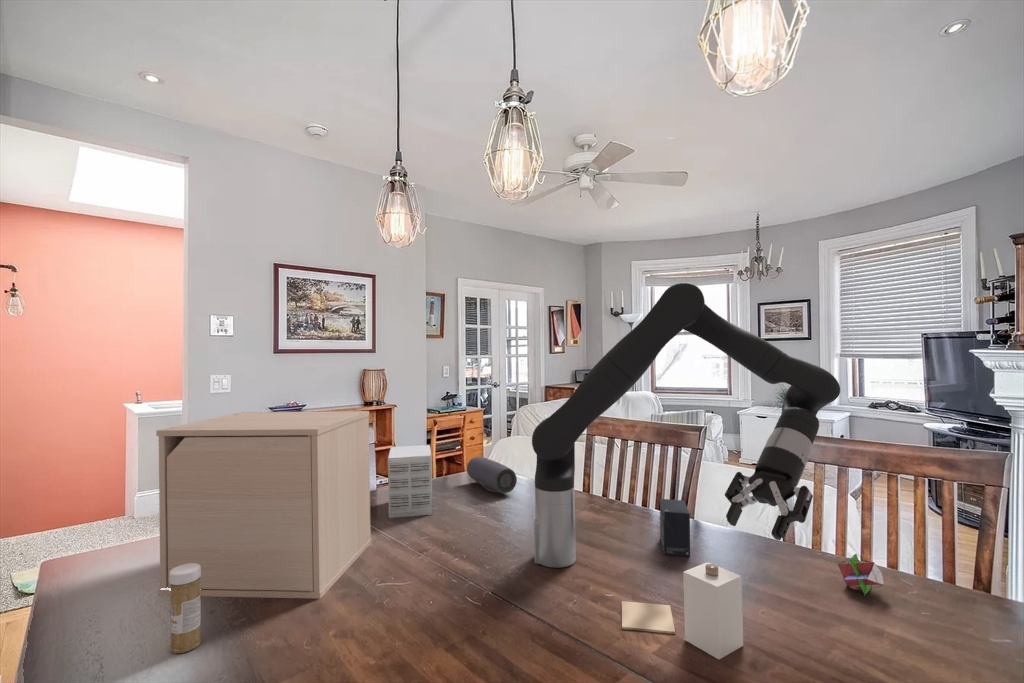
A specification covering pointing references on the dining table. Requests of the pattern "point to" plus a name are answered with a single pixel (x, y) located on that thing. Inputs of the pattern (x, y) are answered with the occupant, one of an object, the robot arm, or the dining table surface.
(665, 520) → the small box
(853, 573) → the geometric puzzle
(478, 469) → the bluetooth speaker
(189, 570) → the sprinkles bottle
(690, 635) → the white knobbed pillar
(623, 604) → the coaster
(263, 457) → the cabinet
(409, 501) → the supplement box
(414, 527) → the dining table surface
